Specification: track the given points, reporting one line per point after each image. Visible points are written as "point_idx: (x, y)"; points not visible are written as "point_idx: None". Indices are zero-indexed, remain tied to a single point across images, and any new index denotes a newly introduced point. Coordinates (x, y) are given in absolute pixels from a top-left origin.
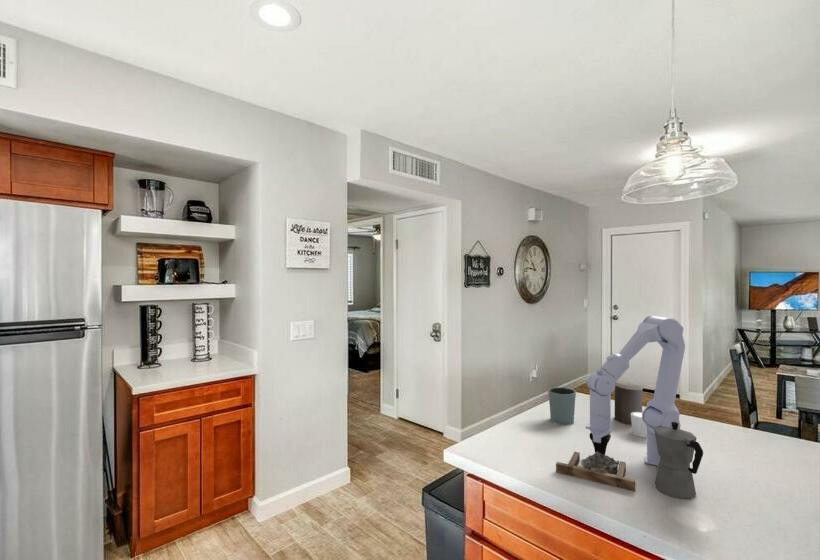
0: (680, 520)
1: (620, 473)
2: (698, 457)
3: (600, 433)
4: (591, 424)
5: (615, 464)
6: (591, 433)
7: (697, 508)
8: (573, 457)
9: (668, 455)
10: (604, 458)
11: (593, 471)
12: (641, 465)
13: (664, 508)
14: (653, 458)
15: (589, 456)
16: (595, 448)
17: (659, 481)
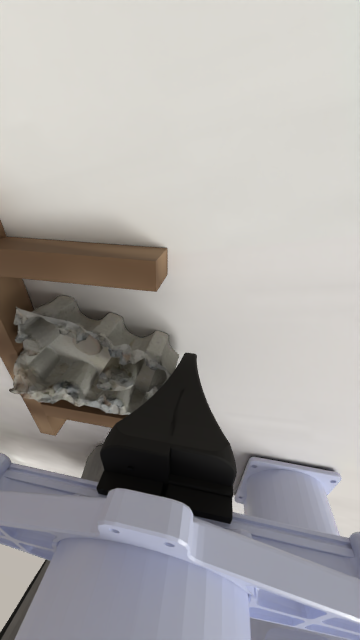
0: (16, 444)
1: (61, 414)
2: (4, 626)
3: (16, 544)
4: (40, 616)
5: (120, 411)
6: (155, 460)
7: (78, 470)
8: (65, 264)
9: (34, 583)
10: (153, 387)
11: (2, 348)
12: (233, 445)
13: (34, 436)
14: (257, 487)
15: (109, 342)
16: (168, 384)
17: (90, 468)
